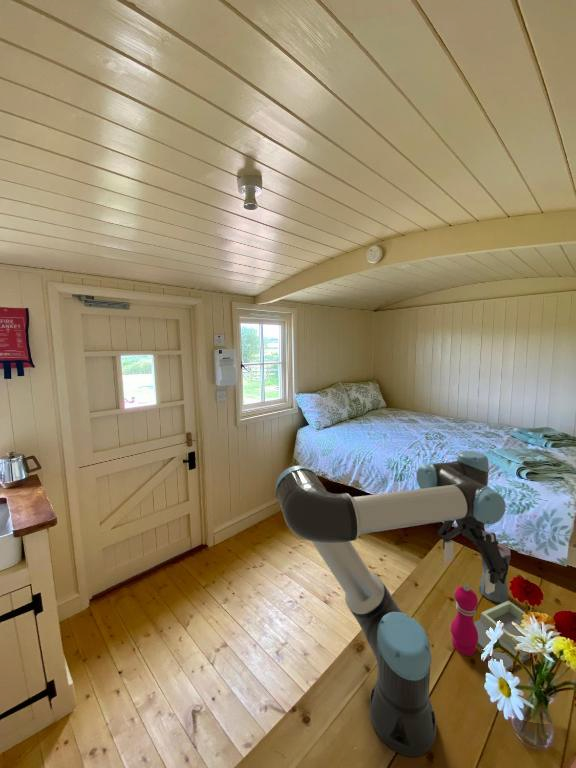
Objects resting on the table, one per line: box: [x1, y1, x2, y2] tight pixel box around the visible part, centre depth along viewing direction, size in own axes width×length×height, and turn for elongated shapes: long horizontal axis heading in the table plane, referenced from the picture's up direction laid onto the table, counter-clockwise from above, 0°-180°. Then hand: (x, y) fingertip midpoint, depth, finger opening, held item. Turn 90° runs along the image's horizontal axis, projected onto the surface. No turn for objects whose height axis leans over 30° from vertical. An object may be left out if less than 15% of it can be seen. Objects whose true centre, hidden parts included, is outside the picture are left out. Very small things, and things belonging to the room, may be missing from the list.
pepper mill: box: [450, 583, 479, 657], centre depth 96 cm, size 7×7×20 cm
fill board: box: [473, 599, 530, 671], centre depth 99 cm, size 20×14×4 cm
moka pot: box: [478, 540, 512, 604], centre depth 115 cm, size 10×15×20 cm, turn 174°
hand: (467, 575), depth 94 cm, fingers open, 13 cm apart
